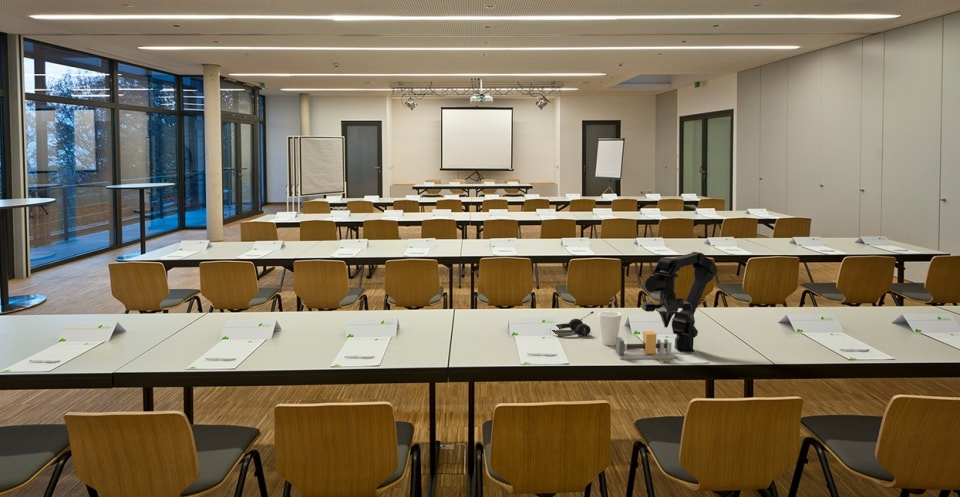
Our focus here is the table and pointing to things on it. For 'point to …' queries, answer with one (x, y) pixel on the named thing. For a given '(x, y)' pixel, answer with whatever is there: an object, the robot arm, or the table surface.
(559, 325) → the headset
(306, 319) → the table surface
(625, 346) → the dark grey rod
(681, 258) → the robot arm
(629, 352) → the comb base
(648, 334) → the sleeve
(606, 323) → the foam cup
